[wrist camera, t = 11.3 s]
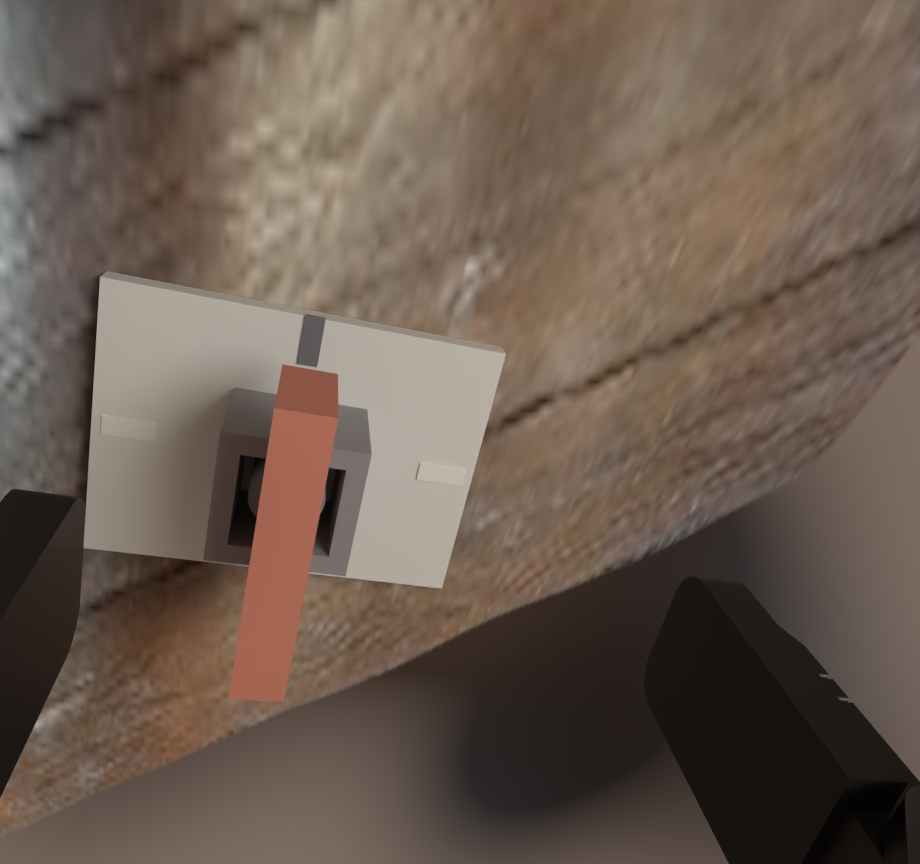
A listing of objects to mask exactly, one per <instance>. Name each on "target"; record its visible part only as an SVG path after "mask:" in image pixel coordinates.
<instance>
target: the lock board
mask: <svg viewBox="0 0 920 864" xmlns="http://www.w3.org/2000/svg"><path fill="white" fill-rule="evenodd" d="M505 356H506V353H505V352H504V350H503V349H502V347H499V346H494V345H488V344H483V343H478V342H473V341H468V340H462V339H457V338H452V337H447V336H442V335H436V334H431V333H426V332H421V331H416V330H410V329H405V328H400V327H395V326H390V325H384V324H379V323H374V322H369V321H364V320H358V319H353V318H348V317H343V316H338V315H332V314H327V313H322V312H317V311H312V310H306V309H301V308H296V307H291V306H286V305H280V304H275V303H270V302H265V301H259V300H254V299H249V298H244V297H239V296H233V295H228V294H223V293H218V292H213V291H207V290H202V289H197V288H192V287H187V286H181V285H176V284H171V283H166V282H161V281H155V280H150V279H145V278H140V277H135V276H129V275H124V274H119V273H114V272H109V271H107V272H105V273H104V274H103V275H102V276H100V286H99V302H98V318H97V335H96V351H95V368H94V384H93V401H92V417H91V433H90V450H89V466H88V483H87V499H86V515H85V532H84V548H88V549H97V550H106V551H114V552H123V553H132V554H141V555H150V556H159V557H168V558H177V559H185V560H194V561H203V562H212V563H221V564H230V565H239V566H248V567H249V565H241V564H232V563H224V562H215V561H206V560H203V558H204V550H205V542H206V535H207V527H208V519H209V512H210V504H211V496H212V489H213V481H214V473H215V466H216V458H217V450H218V443H219V435H220V430H221V427H222V424H223V421H224V418H225V415H226V412H227V409H228V406H229V403H230V400H231V397H232V394H233V391H234V388H241V389H247V390H253V391H259V392H265V393H272V394H277V390H278V385H279V380H280V375H281V369H282V364H284V365H289V366H295V367H301V368H307V369H312V370H318V371H324V372H330V373H335V374H338V405H344V406H350V407H356V408H362V409H367V412H368V422H369V432H370V442H371V452H372V456H371V460H370V465H369V470H368V474H367V479H366V484H365V488H364V493H363V498H362V502H361V507H360V511H359V516H358V521H357V525H356V530H355V535H354V539H353V544H352V549H351V553H350V558H349V563H348V567H347V572H346V576H339V575H330V574H321V573H312V572H309V573H310V574H319V575H327V576H336V577H345V578H354V579H363V580H372V581H381V582H390V583H398V584H407V585H416V586H425V587H434V588H442V586H443V582H444V578H445V575H446V571H447V568H448V564H449V560H450V557H451V553H452V549H453V546H454V542H455V538H456V535H457V531H458V527H459V524H460V520H461V516H462V513H463V509H464V505H465V502H466V498H467V494H468V491H469V487H470V483H471V480H472V476H473V472H474V469H475V465H476V462H477V458H478V454H479V451H480V447H481V443H482V440H483V436H484V432H485V429H486V425H487V421H488V418H489V414H490V410H491V407H492V403H493V399H494V396H495V392H496V388H497V385H498V381H499V377H500V374H501V370H502V367H503V363H504V359H505ZM265 463H266V459H265V458H258V457H251V456H245V462H244V469H243V476H242V483H241V490H246V491H248V503H249V506H250V509H251V511H252V513H253V514H254V515H255V517H256V518H257V513H258V507H259V501H260V494H261V488H262V482H263V475H264V469H265ZM335 471H336V469H334V468H329V470H328V475H327V480H326V486H325V491H324V496H323V501H322V506H321V512H322V510H323V508H324V505H325V501H328V502H330V497H331V492H332V487H333V482H334V477H335ZM321 512H320V514H321Z"/></svg>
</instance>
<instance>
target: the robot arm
mask: <svg viewBox="0 0 920 864" xmlns="http://www.w3.org/2000/svg"><path fill="white" fill-rule="evenodd" d="M84 527H85V504H84V500H83V499H82V498H81V497H73V496H65V495H58V494H50V493H42V492H34V491H26V490H18V489H13V490H11V491H9V493H8V494H7V495H6V496H5V497H4V498H3V500H2V501H1V502H0V797H1V795H2V793H3V791H4V789H5V787H6V784H7V782H8V780H9V778H10V776H11V774H12V772H13V770H14V768H15V765H16V763H17V761H18V759H19V757H20V755H21V753H22V751H23V748H24V746H25V744H26V742H27V740H28V738H29V736H30V734H31V732H32V729H33V727H34V725H35V723H36V721H37V719H38V717H39V715H40V713H41V710H42V708H43V706H44V704H45V702H46V700H47V698H48V696H49V694H50V691H51V689H52V687H53V685H54V683H55V681H56V679H57V677H58V674H59V672H60V670H61V668H62V666H63V664H64V662H65V660H66V657H67V655H68V652H69V650H70V647H71V644H72V641H73V637H74V633H75V629H76V625H77V620H78V614H79V606H80V592H81V576H82V559H83V543H84ZM644 683H645V694H646V699H647V702H648V705H649V707H650V710H651V711H652V713H653V715H654V717H655V719H656V721H657V723H658V725H659V727H660V729H661V731H662V733H663V735H664V737H665V739H666V741H667V743H668V745H669V747H670V749H671V751H672V753H673V755H674V757H675V759H676V761H677V762H678V764H679V766H680V768H681V770H682V772H683V774H684V776H685V778H686V780H687V782H688V784H689V786H690V788H691V790H692V792H693V794H694V796H695V798H696V800H697V802H698V804H699V806H700V808H701V809H702V811H703V814H704V815H705V817H706V819H707V821H708V823H709V825H710V827H711V829H712V831H713V833H714V835H715V837H716V839H717V841H718V843H719V845H720V847H721V849H722V851H723V853H724V855H725V857H726V859H727V861H728V862H729V864H920V782H919V780H918V779H917V778H916V777H915V776H914V774H913V773H912V772H911V771H910V770H909V769H908V767H907V766H906V765H905V764H904V763H903V761H902V760H901V759H900V758H899V757H898V756H897V754H896V753H895V752H894V751H893V750H892V748H891V747H890V746H889V745H888V744H887V743H886V741H885V740H884V739H883V738H882V737H881V735H880V734H879V733H878V732H877V731H876V730H875V728H873V726H872V725H871V724H870V723H869V721H868V720H867V719H866V718H865V717H864V715H863V714H862V713H861V712H860V711H859V710H858V708H857V707H856V706H855V705H854V704H853V703H848V700H847V698H848V697H847V695H846V694H845V693H844V692H843V691H842V689H841V688H840V687H839V686H838V685H837V684H836V682H835V681H834V680H833V679H828V673H827V672H826V670H825V669H824V668H823V667H822V666H821V665H820V664H819V662H818V661H817V660H816V659H815V657H814V656H813V655H812V654H811V653H810V652H809V650H808V649H807V648H806V647H805V646H804V645H803V644H802V643H800V642H799V641H798V640H796V639H795V638H794V637H792V636H791V635H790V634H789V633H787V632H786V631H785V630H783V629H782V628H781V627H780V626H778V624H777V623H776V622H775V621H774V620H773V618H771V616H770V615H769V614H768V612H766V610H765V609H764V608H763V606H762V605H761V604H760V603H759V602H758V600H757V599H756V598H755V597H754V595H753V594H752V593H751V592H750V591H749V589H748V588H747V587H746V586H744V585H743V584H741V583H739V582H732V581H724V580H716V579H708V578H700V577H688V578H686V579H685V580H683V581H682V582H681V584H680V585H679V587H678V589H677V590H676V593H675V595H674V598H673V600H672V602H671V605H670V607H669V610H668V612H667V615H666V617H665V619H664V622H663V624H662V627H661V629H660V631H659V635H658V636H657V639H656V641H655V644H654V646H653V648H652V651H651V653H650V656H649V658H648V661H647V664H646V669H645V678H644Z"/></svg>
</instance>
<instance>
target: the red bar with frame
mask: <svg viewBox="0 0 920 864" xmlns="http://www.w3.org/2000/svg"><path fill="white" fill-rule="evenodd" d="M245 456H251V457H258V458H265V459H266V463H265V469H264V475H263V482H262V488H261V494H260V501H259V507H258V513H257V518H256V517H255V515H254V514H253V513H252V511H251V509H250V506H249V503H248V491H246V490H241V483H242V476H243V469H244V462H245ZM371 456H372V452H371V442H370V432H369V422H368V412H367V409H362V408H356V407H350V406H344V405H338V374H335V373H330V372H324V371H318V370H312V369H307V368H301V367H295V366H289V365H284V364H282V369H281V375H280V380H279V385H278V390H277V394H272V393H265V392H259V391H253V390H247V389H241V388H234V391H233V394H232V397H231V400H230V403H229V406H228V409H227V412H226V415H225V418H224V421H223V424H222V427H221V430H220V435H219V443H218V450H217V458H216V466H215V473H214V481H213V489H212V496H211V504H210V512H209V519H208V527H207V535H206V542H205V550H204V558H203V560H206V561H215V562H224V563H232V564H241V565H249V570H248V577H247V583H246V589H245V596H244V602H243V608H242V615H241V621H240V627H239V634H238V640H237V646H236V653H235V659H234V665H233V672H232V678H231V684H230V691H229V697H228V698H233V699H246V700H260V701H274V702H284V698H285V693H286V688H287V682H288V677H289V672H290V667H291V662H292V656H293V651H294V646H295V641H296V636H297V631H298V625H299V620H300V615H301V610H302V605H303V600H304V594H305V589H306V584H307V579H308V574H309V572H312V573H321V574H330V575H339V576H346V572H347V567H348V563H349V558H350V553H351V549H352V544H353V539H354V535H355V530H356V525H357V521H358V516H359V511H360V507H361V502H362V498H363V493H364V488H365V484H366V479H367V474H368V470H369V465H370V460H371ZM329 468H334V469H336V471H335V477H334V482H333V487H332V492H331V497H330V502H328V501H325V505H324V508H323V510H322V512H321V506H322V501H323V496H324V491H325V486H326V480H327V475H328V470H329ZM320 512H321V514H320Z"/></svg>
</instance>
